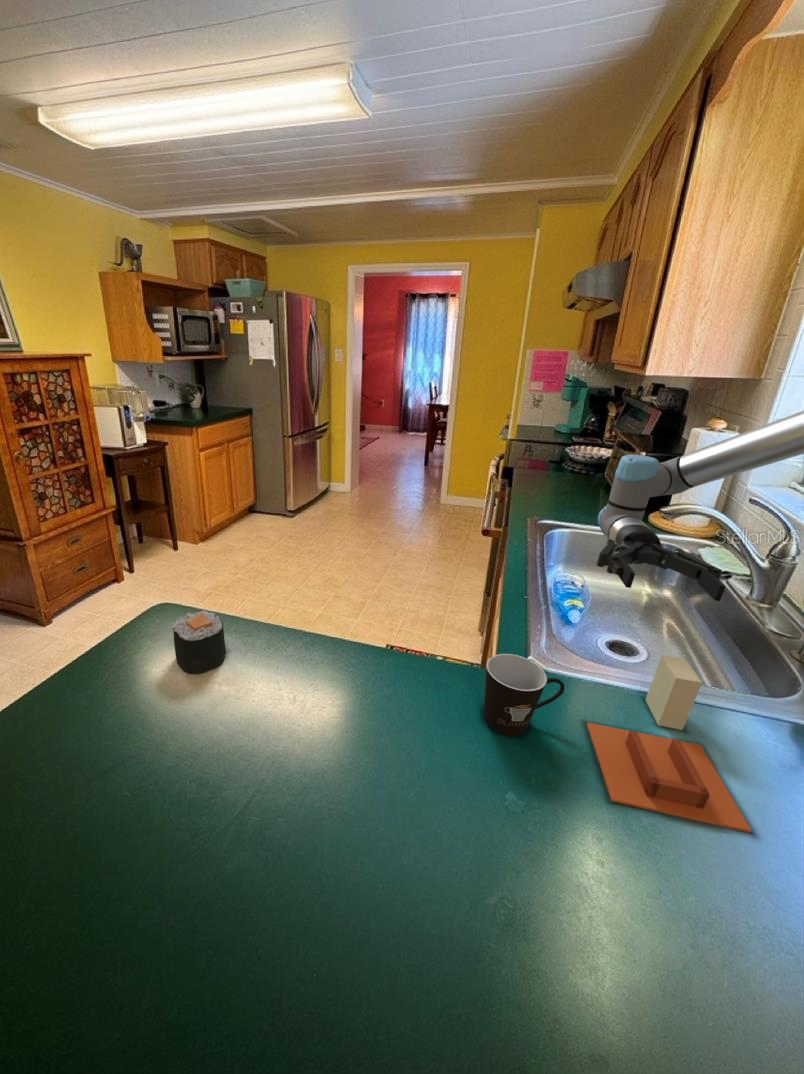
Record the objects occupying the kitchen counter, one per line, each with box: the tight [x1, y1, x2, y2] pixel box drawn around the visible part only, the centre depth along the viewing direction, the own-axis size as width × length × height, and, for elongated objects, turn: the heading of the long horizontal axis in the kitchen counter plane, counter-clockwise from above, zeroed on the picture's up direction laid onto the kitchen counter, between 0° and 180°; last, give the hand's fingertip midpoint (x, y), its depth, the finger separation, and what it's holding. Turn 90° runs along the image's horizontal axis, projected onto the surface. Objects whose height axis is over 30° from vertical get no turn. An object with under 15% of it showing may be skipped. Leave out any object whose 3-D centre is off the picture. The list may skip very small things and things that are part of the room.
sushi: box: [171, 610, 227, 675], centre depth 82 cm, size 8×8×8 cm
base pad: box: [586, 722, 752, 833], centre depth 65 cm, size 16×14×4 cm
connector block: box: [645, 654, 703, 731], centre depth 75 cm, size 4×6×10 cm, turn 167°
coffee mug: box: [483, 653, 565, 737], centre depth 71 cm, size 12×9×10 cm
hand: (674, 587), depth 78 cm, fingers open, 13 cm apart
